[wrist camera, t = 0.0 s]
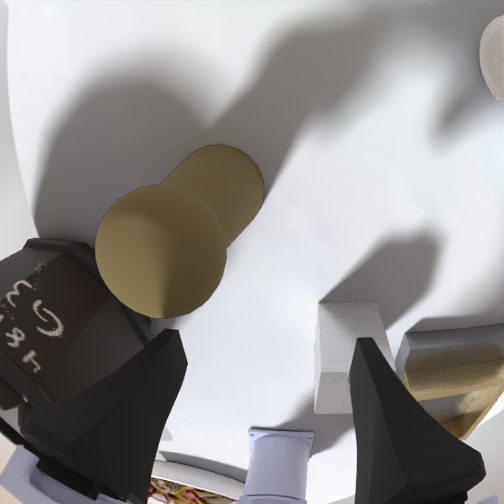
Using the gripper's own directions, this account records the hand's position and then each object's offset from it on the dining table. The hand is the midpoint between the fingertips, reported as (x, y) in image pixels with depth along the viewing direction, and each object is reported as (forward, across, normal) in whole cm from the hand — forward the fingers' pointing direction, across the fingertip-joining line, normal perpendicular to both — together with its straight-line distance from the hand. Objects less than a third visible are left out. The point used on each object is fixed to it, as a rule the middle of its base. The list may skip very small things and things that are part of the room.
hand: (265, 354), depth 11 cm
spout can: (+10, -5, +7) cm, 13 cm away
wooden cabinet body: (+10, -17, +17) cm, 26 cm away
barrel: (+10, +20, +7) cm, 24 cm away
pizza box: (+11, +17, +55) cm, 59 cm away
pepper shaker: (+10, +4, -4) cm, 12 cm away
